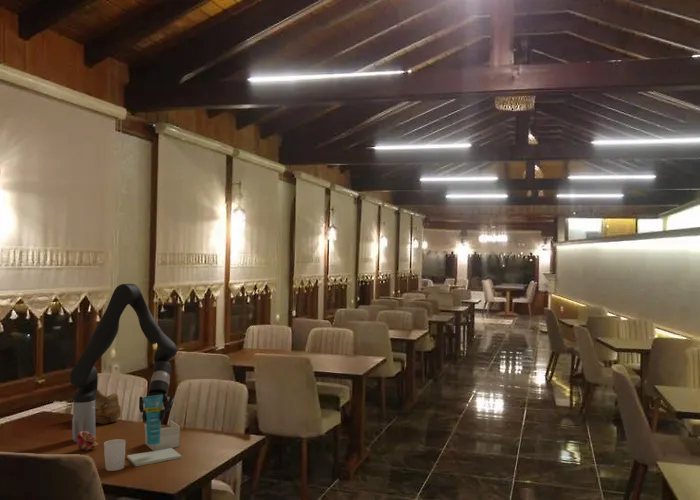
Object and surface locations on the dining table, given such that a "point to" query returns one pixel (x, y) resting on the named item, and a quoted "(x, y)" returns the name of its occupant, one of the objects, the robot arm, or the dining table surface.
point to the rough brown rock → (106, 408)
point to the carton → (166, 437)
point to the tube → (153, 418)
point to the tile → (153, 456)
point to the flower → (86, 440)
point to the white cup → (114, 454)
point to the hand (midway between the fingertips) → (152, 420)
